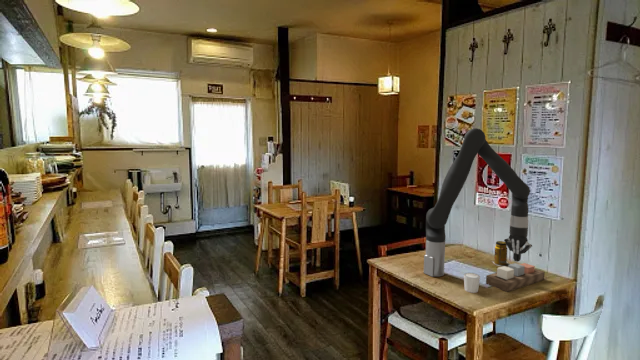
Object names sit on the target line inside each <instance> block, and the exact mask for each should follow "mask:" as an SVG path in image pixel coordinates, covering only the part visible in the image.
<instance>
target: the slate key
mask: <svg viewBox="0 0 640 360" xmlns="http://www.w3.org/2000/svg"><path fill="white" fill-rule="evenodd" d="M507 267H509V268H512V269H514V275H515V276H521V275H524V268H525V266H522V265H520V263H516V262H514V263H510V265H508V266H507Z"/></svg>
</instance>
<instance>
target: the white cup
mask: <svg viewBox="0 0 640 360" xmlns="http://www.w3.org/2000/svg"><path fill="white" fill-rule="evenodd" d="M480 279H481V276H480V274H477V273H474V272H465V273H464V274H463V283H464V284H463V286H464V291H465V292H468V293H470V294H471V293H472V294H475V293H476V294H477V293H478V292H479V288H480V287H479V286H480V281H481V280H480Z"/></svg>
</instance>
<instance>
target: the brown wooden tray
mask: <svg viewBox="0 0 640 360" xmlns="http://www.w3.org/2000/svg"><path fill="white" fill-rule="evenodd" d="M485 276H486V277H485V279H486V280H485V285H489V286H491V287H494V288H496V289H498V290H501V291H503V292H505V293H509V292H513V291H515V290H518V289H521V288H524V287H527V286H531V285H533V284H536V283H539V282H542V281H545V271H544V270H539V269H536V268H534V272H533V273H530V274H527V273H524V275H521V276H515V275H514V278H511V279H508V280H506V279H503V278H500V277H498V276H497V272H495V273H494V272H493V273H490V274H487V275H485Z"/></svg>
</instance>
